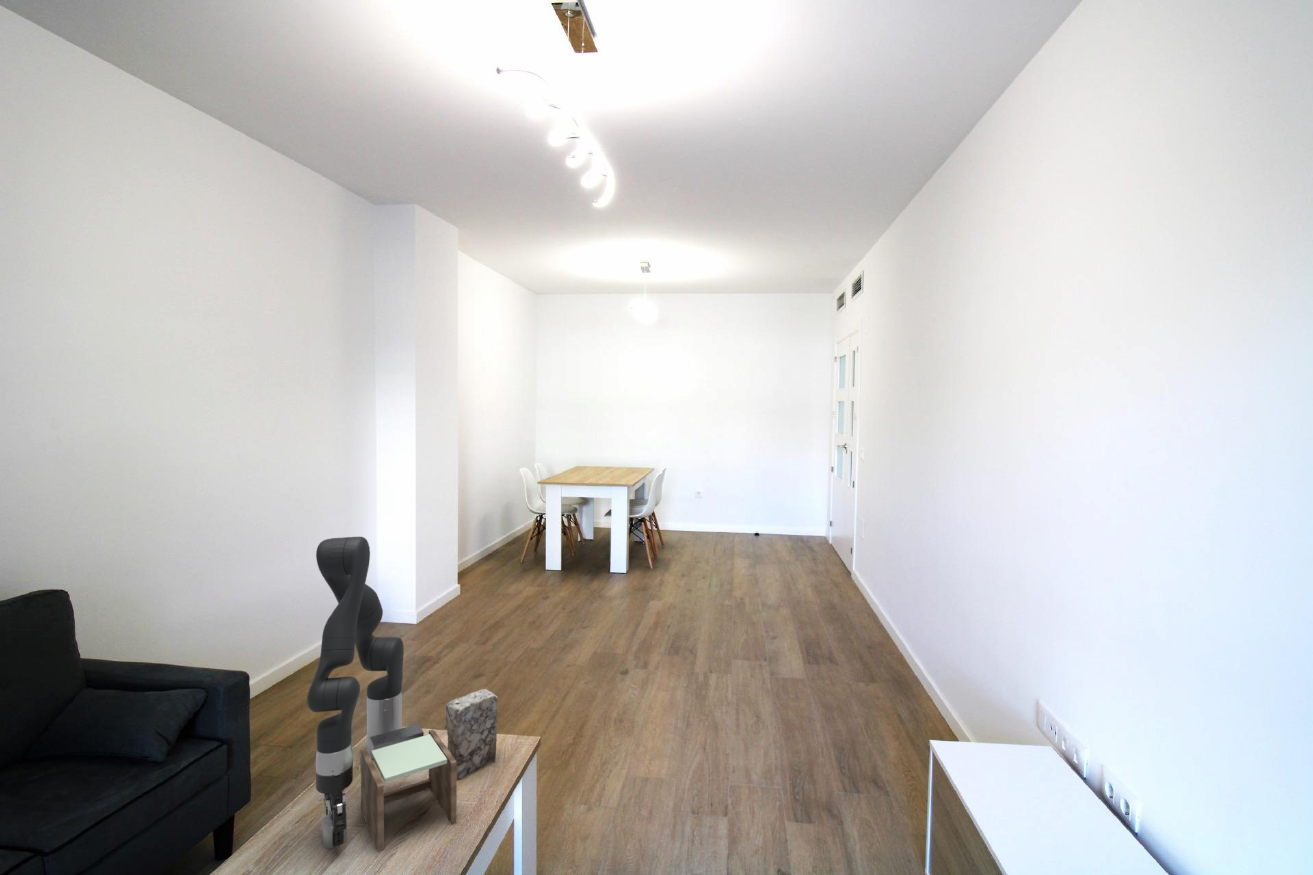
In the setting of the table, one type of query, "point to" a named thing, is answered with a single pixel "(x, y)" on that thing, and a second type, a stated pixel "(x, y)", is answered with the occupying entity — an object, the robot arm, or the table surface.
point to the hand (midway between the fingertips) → (334, 833)
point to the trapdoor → (405, 752)
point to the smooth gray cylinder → (330, 832)
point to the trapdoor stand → (406, 791)
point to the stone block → (472, 731)
